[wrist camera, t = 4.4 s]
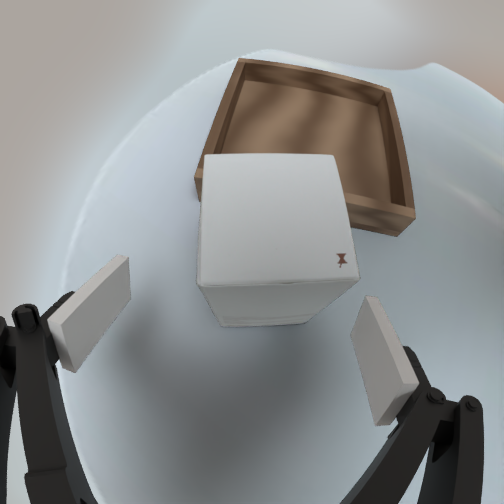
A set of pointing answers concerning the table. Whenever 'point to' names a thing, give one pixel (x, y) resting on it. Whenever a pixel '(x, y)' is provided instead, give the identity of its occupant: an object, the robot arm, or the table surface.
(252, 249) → the supplement box
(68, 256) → the table surface
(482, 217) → the table surface
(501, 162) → the table surface
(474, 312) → the table surface
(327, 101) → the box
